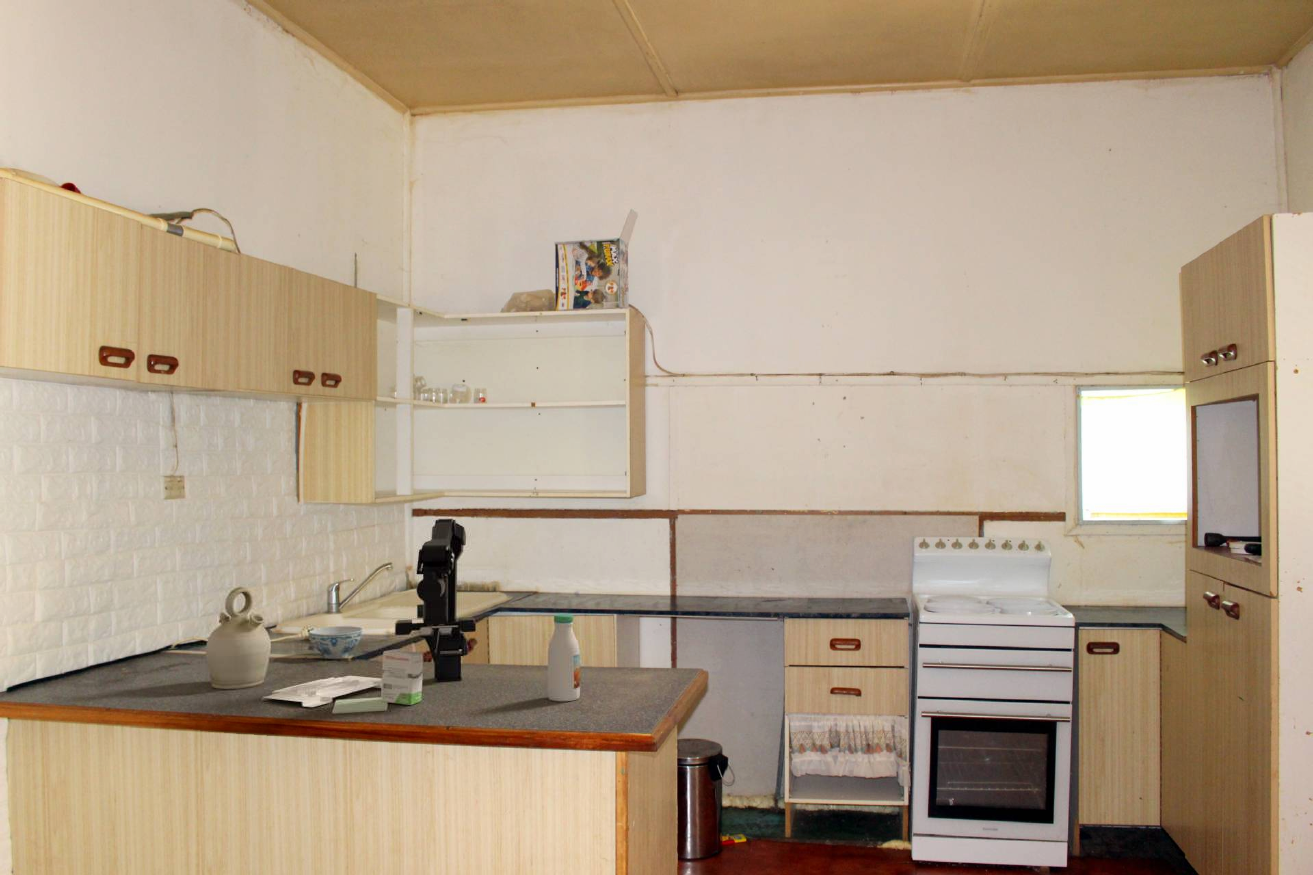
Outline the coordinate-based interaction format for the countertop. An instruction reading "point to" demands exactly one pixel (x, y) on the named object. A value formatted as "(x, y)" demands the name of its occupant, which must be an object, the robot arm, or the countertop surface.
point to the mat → (359, 705)
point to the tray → (324, 690)
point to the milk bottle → (563, 661)
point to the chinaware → (335, 640)
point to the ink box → (402, 677)
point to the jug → (238, 646)
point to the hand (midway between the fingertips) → (435, 662)
